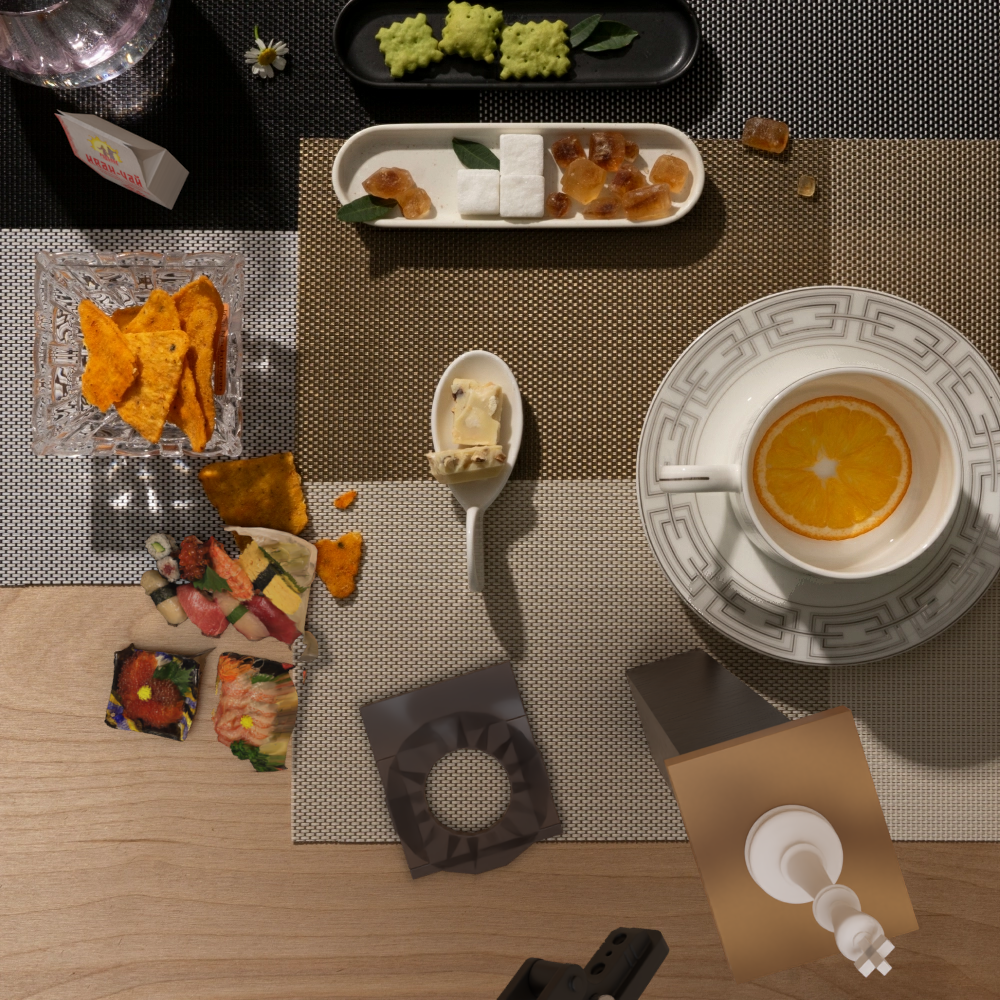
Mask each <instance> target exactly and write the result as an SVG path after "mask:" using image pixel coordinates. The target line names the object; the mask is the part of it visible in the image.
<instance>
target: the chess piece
mask: <svg viewBox="0 0 1000 1000" xmlns="http://www.w3.org/2000/svg"><path fill="white" fill-rule="evenodd" d="M745 861H746V865H747V868H748V871H749V873H750V875H751V876H752V878H753V879H754V881H755V882H756V883H757V884H758V885H759V886H760V887H761V888H762V889H763V890H764V891H765V892H766V893H767V894H769V895H770V896H772V897H773V898H775V899H777V900H780V901H783V902H786V903H792V904H801V903H807V902H811V901H813V906H812V909H813V915H814V917H815V919H816V921H817V922H818V923H819V925H821V926H822V927H823V928H825V929H827V930H828V931H831V932H834V935H835V940H836V944H837V946H838V948H839V950H840V952H841V953H840V954H842V956H844V957H845V958H847V959H848V960H850V961H852V962H853V965H854V967H855V968H856V969H857V971H858V972H860V974H862V976H863V977H865V978H868V976H869V975H870V974H872V972H873V971H874V970H875V969H876V970H877V971H878V972H880V973H881V974H882V976H886V975H887V974H888V973H889V972H891V970H892V969H893V967H892V966H891V965H890V963H889V962H888V961H887V959H886V957H888V955H890V954H891V952H892V951H893V950H895V948H896V946H895V945H894V944H893V942H892V941H891V940H890V939H887V938H886V937H885V936H884V931H883V929H882V927H881V925H880V924H879V922H878V921H877V920H876V919H875V918H873V917H872V916H870V915H868V914H866V913H864V912H861V905H860V902H859V899H858V897H857V895H856V894H855V892H854V891H853V890H851V889H850V888H849V887H847V886H844V885H841V884H835V883H836V881H837V880H838V878H839V875H840V873H841V870H842V865H843V850H842V846H841V842H840V840H839V837H838V835H837V834H836V832H835V830H834V829H833V827H832V825H831V824H830V823H829V822H828V820H827V819H826V818H825V817H823V816H822V815H821V814H820V813H818V812H817V811H815V810H813V809H811V808H808V807H805V806H800V805H784V806H779V807H776V808H774V809H771V810H769V811H768V812H766V813H765V814H763V815H762V816H761V817H760V818H759V819H758V820H757V821H756V822H755V823H754V824H753V826H752V827H751V829H750V831H749V833H748V836H747V839H746V843H745Z"/></svg>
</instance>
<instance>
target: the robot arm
mask: <svg viewBox="0 0 1000 1000" xmlns="http://www.w3.org/2000/svg"><path fill="white" fill-rule="evenodd" d="M669 953H670V947H669V944H668V943H667V941H666V939H665V937H664V935H663V933H662V932H661V931H660V930H659V929H654V928H653V929H651V928H643V927H624V926H619V927H617V928H615V929H613V930H611V931H610V933H609V934H608V935H607V936H606V938H605V940H604V941H603V942H602V943H601V945H600V946H599V948H598V949H597V950H596V951H595V952H594V954H593V955H592V956H591V958H590V960H589V961H588V962H586V965H585V966H584V967H583V966H581V965H580V964H578V963H577V964H576V963H571V962H559V961H552V960H545V959H543V958H541V957H533V956H532V957H528V958H526V959H525V960H524V961H523V963H522V964H521V966H520V967H519V968H518V970H517V971H516V972H515V974H513V976H512V978H511V979H510V981H508V983H507V984H506V986H505V988H503V990H502V992H501V993H500V994H499V995H498V996H497V998H496V1000H639V999H640V997H641V996H642V995H643V993H644V991H645V990H646V989H647V988H648V985H649V984H650V983H651V981H652V979H653V978H654V977H655V975H656V974H657V972H658V971H659V969H660V967H661V966H662V965H663V963H664V962H665V960H666V959H667V957H668V955H669Z"/></svg>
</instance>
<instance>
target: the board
mask: <svg viewBox="0 0 1000 1000" xmlns="http://www.w3.org/2000/svg"><path fill="white" fill-rule="evenodd" d="M358 710H359V713H360V717H361V719H362V723H363V726H364V730H365V732H366V736H367V739H368V741H369V742H368V743H369V745H370V748H371V752H372V755H373V759H374V761H375V765H376V768H377V771H378V775H379V777H380V781H381V784H382V787H383V790H384V793H385V798H384V802H385V805H386V808H387V811H388V815H389V818H390V821H391V825H392V827H393V830H394V832H395V833H396V835H397V836H398V838H399V841H400V844H401V848H402V851H403V854H404V858H405V861H406V863H407V867H408V870H409V873H410V876H411V879H412V880H413V881H414V880H416V879H419V878H423V877H424V878H425V877H426V876H430V875H433V874H436V873H440V872H445V873H457V874H465V875H466V874H467V875H480V874H484V873H486V872H490V871H493V870H496V869H500V868H504V867H507V866H508V865H510V864H511V863H512V862H513V861H514V860H516V859H517V858H518V857H519V856H520V855H522V854H523V853H524V852H526V851H527V850H528V849H529V848H531V846H533V845H534V843H537V842H540V841H543V840H546V839H547V840H548V839H550V838H554V837H557V836H559V835H563V834H564V830H563V829H564V828H563V826H562V823H561V820H560V816H559V813H558V810H557V807H556V803H555V800H554V797H553V794H552V791H551V779H550V777H549V773H548V769H547V767H546V764H545V763H546V762H545V761H544V757H543V754H542V751H541V749H540V747H538V745H537V743H536V740H535V736H534V733H533V731H532V727H531V724H530V720H529V717H528V714H527V711H526V708H525V705H524V701H523V698H522V696H521V692H520V689H519V686H518V682H517V679H516V676H515V673H514V670H513V667H512V663H511V660H510V659H506V660H503V661H499V662H497V663H494V664H490V665H486V666H483V667H481V668H480V667H479V668H478V669H474V670H471V671H468V672H465V673H461V674H459V675H454V676H452V677H448V678H446V679H441V680H439V681H436V682H433V683H432V682H431V683H429V684H426V685H423V686H420V687H416V688H413V689H410V690H406V691H404V692H400V693H397V694H394V695H390V696H387V697H384V698H380V699H378V700H374V701H371V702H368V703H364V704H362V705H359V707H358ZM460 750H473V751H481V752H482V753H485V754H486V755H488V756H490V757H492V758H494V759H495V760H496V761H497V763H499V765H500V766H501V767H502V769H504V771H505V772H506V775H507V779H508V781H509V782H508V783H509V786H510V794H509V802H508V805H507V806H506V808H505V810H504V811H503V814H502V816H501V817H500V818H498V819H497V820H496V821H495V822H493V823H492V824H491V825H490V826H489V827H487V828H483V829H480V830H477V831H473V832H470V831H460V830H455V829H454V828H451V827H450V826H448V825H446V824H444V823H442V822H441V821H440V820H439V819H438V818H437V816H436V815H435V814H434V812H432V810H431V808H430V806H429V802H428V799H427V796H426V788H427V779H428V776H429V775H430V772H431V770H432V769H433V767H434V765H435V764H436V763H438V761H440V760H441V759H442V758H444V757H445V756H446V755H447V754H451V753H453V752H457V751H460Z"/></svg>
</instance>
